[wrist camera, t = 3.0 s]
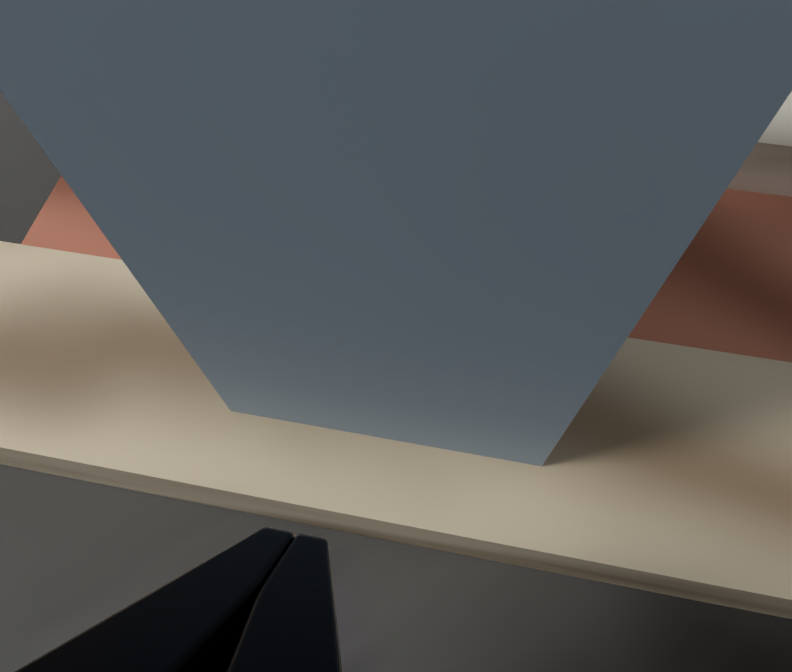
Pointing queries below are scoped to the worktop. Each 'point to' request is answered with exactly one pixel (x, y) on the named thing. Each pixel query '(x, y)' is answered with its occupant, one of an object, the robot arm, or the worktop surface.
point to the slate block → (400, 187)
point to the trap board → (439, 468)
